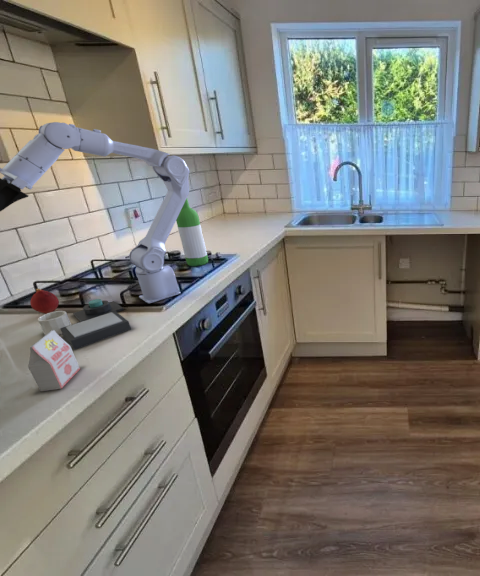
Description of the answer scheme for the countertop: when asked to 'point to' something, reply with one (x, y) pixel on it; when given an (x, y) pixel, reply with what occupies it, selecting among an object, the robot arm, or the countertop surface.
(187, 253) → the wine bottle
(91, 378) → the countertop surface
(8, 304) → the countertop surface
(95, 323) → the scale
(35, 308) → the onion
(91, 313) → the pad
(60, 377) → the printed snack carton
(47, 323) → the cup
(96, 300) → the button
